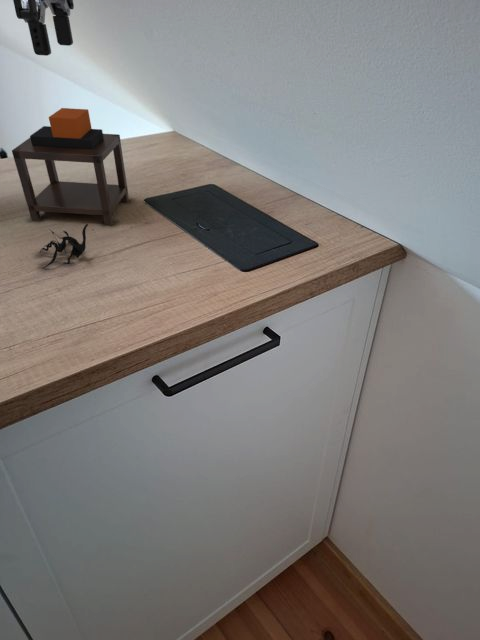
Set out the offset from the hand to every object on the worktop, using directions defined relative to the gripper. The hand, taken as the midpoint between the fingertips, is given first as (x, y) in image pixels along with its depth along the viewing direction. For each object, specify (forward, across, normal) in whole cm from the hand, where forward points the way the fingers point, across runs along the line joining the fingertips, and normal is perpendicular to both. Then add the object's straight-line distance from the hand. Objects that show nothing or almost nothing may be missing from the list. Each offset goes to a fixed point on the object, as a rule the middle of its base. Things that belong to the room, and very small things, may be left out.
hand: (55, 49), depth 73 cm
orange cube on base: (+13, +1, 0) cm, 13 cm away
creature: (+25, +18, +3) cm, 31 cm away
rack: (+25, +1, 0) cm, 25 cm away
